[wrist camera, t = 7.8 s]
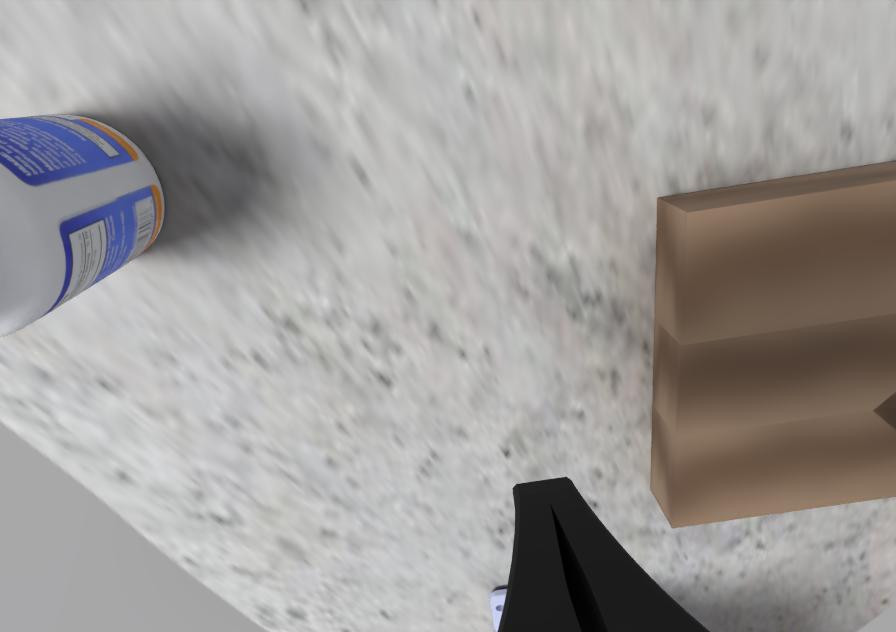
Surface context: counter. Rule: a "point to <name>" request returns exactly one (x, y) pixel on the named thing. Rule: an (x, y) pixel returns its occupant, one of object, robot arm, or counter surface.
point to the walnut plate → (775, 346)
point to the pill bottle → (68, 211)
